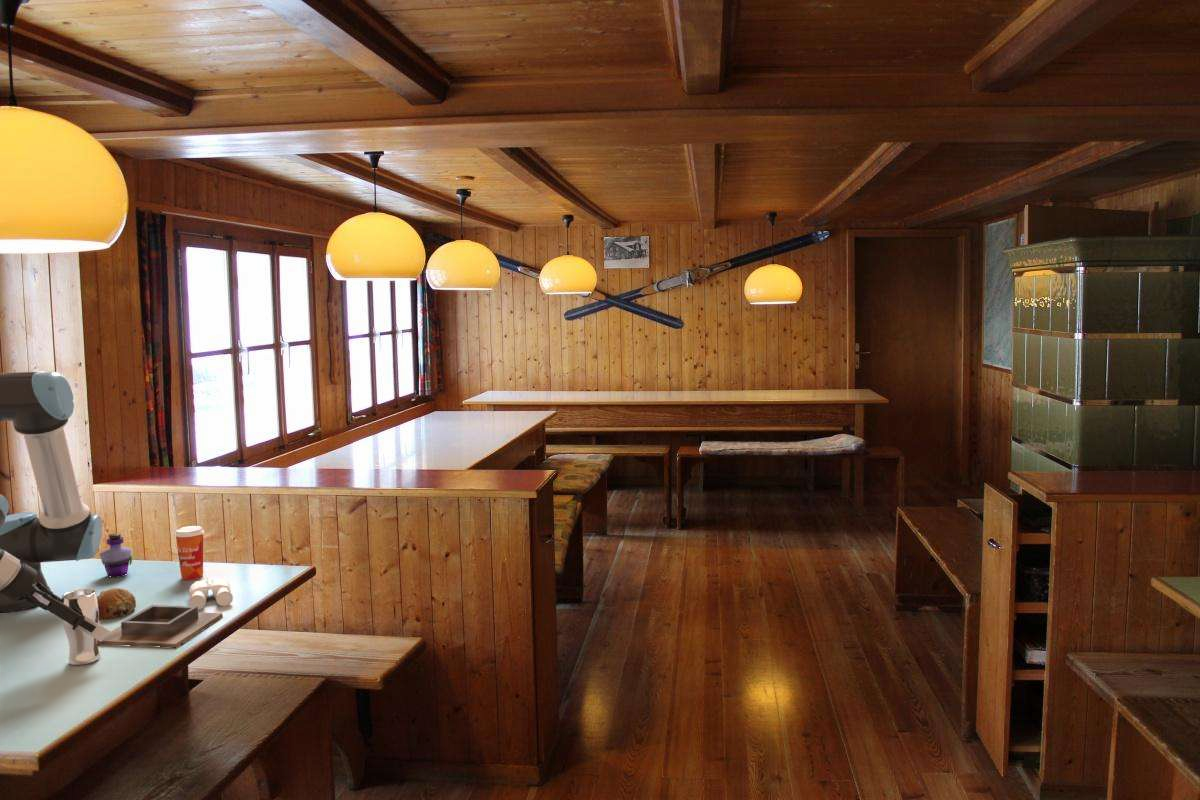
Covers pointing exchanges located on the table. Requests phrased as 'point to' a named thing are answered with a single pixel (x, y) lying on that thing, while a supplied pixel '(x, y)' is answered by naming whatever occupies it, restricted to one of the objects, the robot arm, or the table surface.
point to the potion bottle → (116, 556)
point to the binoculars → (218, 588)
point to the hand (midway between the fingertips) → (100, 631)
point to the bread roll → (115, 603)
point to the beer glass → (79, 641)
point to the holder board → (160, 626)
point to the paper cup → (190, 551)
